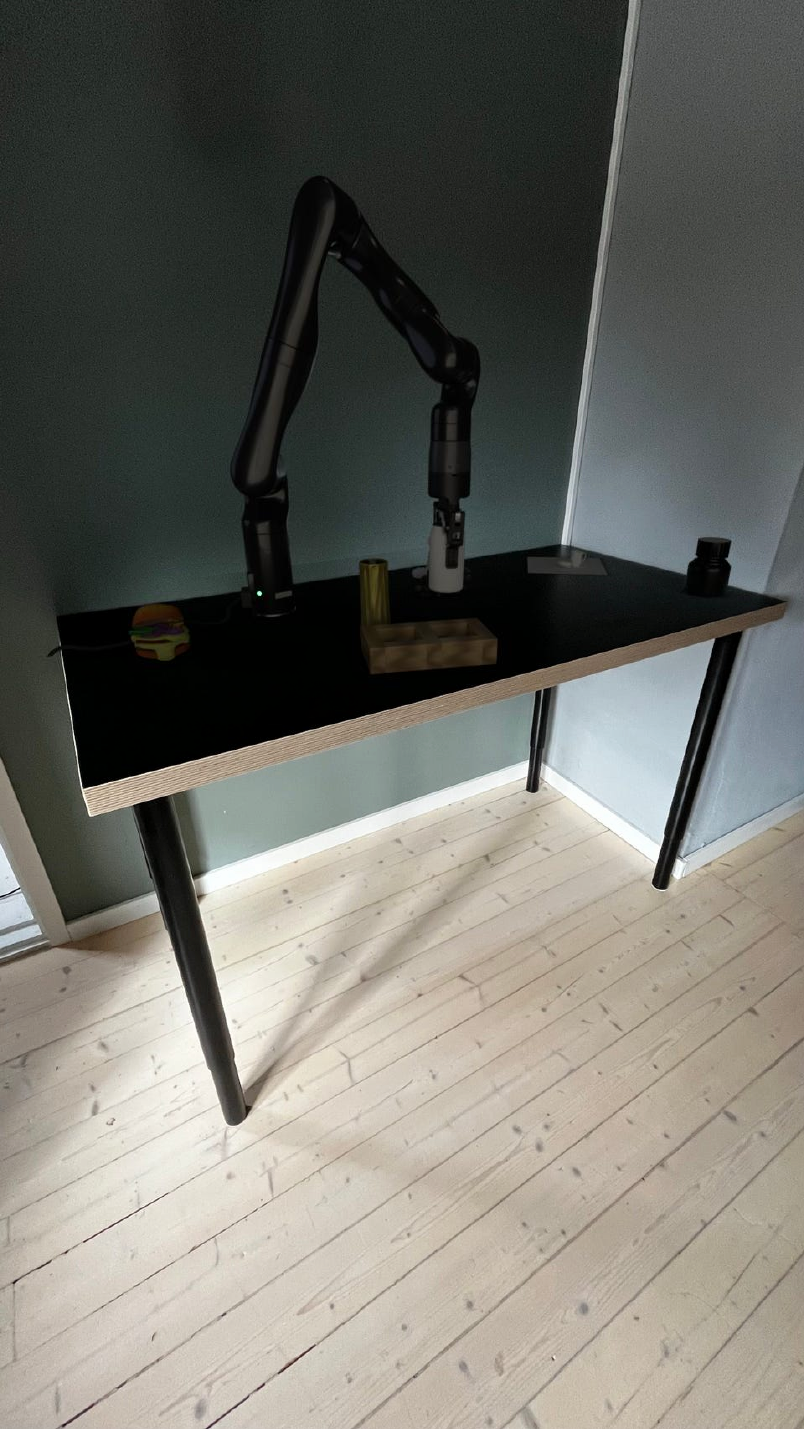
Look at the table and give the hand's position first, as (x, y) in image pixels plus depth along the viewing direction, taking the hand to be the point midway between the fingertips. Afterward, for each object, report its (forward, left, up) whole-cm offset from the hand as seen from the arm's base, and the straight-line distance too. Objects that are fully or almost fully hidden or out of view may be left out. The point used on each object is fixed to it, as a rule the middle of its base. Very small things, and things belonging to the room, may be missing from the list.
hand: (446, 563), depth 119 cm
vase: (-14, 0, -13) cm, 19 cm away
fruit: (+5, +26, -13) cm, 30 cm away
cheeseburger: (-53, 0, -13) cm, 54 cm away
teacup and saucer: (+45, +47, -13) cm, 67 cm away
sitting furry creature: (+8, +43, -13) cm, 46 cm away
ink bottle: (+64, +13, -13) cm, 67 cm away
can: (0, 0, -5) cm, 5 cm away
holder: (-7, -13, -13) cm, 20 cm away
